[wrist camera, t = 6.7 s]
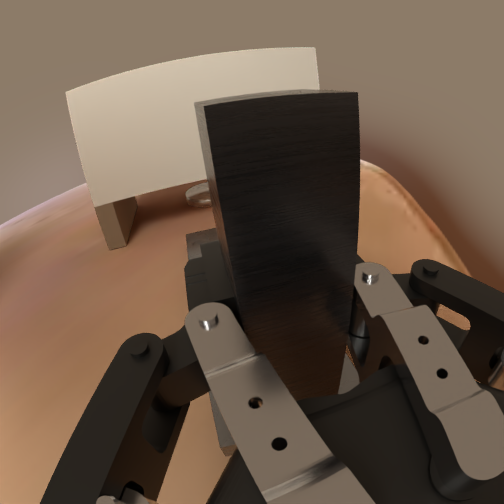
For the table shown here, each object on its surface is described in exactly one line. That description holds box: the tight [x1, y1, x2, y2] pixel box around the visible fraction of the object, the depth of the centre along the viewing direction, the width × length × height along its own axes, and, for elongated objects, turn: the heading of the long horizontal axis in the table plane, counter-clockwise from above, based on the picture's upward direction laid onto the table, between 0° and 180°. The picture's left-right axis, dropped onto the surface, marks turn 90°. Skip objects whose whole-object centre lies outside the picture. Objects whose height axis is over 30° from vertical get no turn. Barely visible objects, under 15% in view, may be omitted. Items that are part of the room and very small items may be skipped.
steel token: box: [186, 182, 212, 207], centre depth 38 cm, size 6×6×2 cm
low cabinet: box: [66, 47, 320, 250], centre depth 33 cm, size 14×24×17 cm, turn 104°
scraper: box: [186, 89, 360, 456], centre depth 17 cm, size 20×7×13 cm, turn 14°
